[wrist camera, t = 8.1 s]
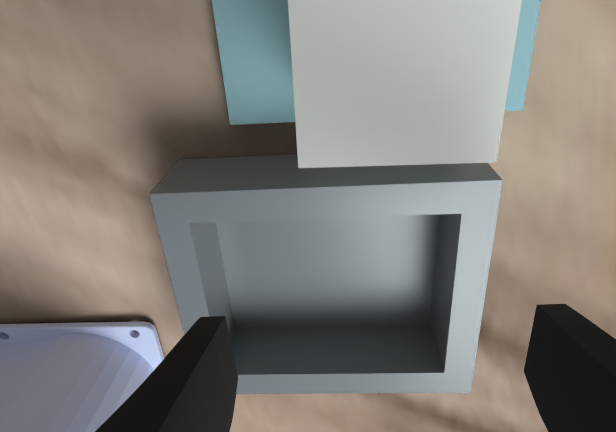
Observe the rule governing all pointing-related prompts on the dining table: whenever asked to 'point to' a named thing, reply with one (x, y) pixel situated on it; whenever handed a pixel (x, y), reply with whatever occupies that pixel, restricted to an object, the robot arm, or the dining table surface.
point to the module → (400, 80)
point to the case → (333, 269)
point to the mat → (278, 64)
